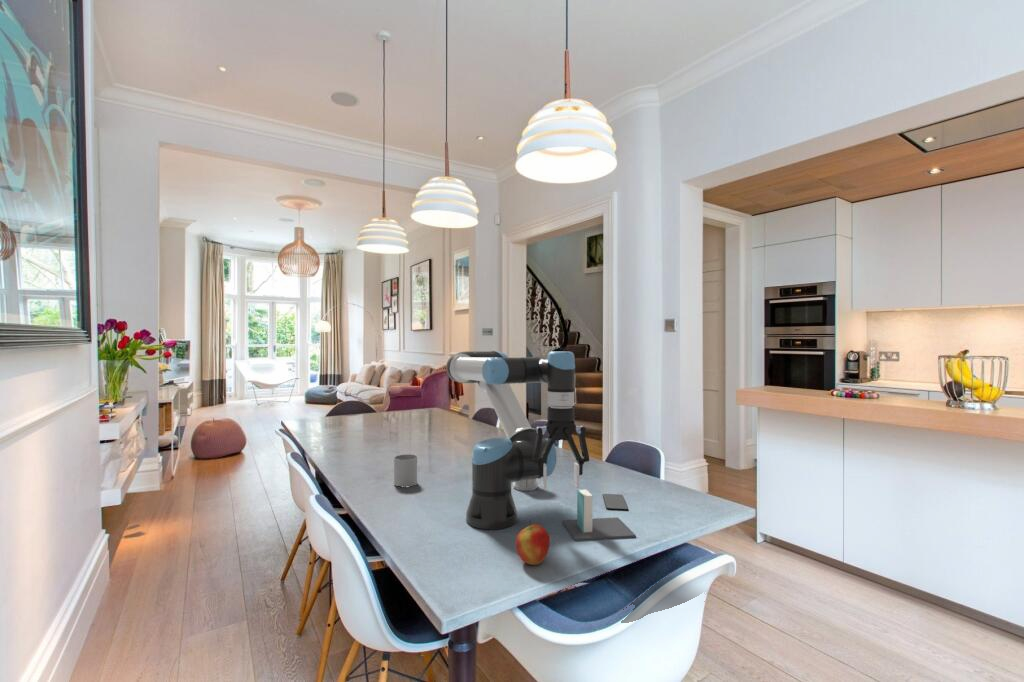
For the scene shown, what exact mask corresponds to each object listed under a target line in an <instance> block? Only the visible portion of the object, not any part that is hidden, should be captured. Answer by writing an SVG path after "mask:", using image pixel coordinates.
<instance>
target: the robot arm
mask: <svg viewBox="0 0 1024 682" xmlns="http://www.w3.org/2000/svg"><path fill="white" fill-rule="evenodd" d="M575 360H576V359H575V354H574V352H572V351H563V350H562V351H560V350H559V351H554V350H551V351H549V352H548V354H547V357H545V356H544V357H543V356H531V357H530V356H529V357H508V355H507V354H506V353H504V352H502V351H496V350H490V351H479V350H477V351H476V350H474V351H460V352H457V353H454V354H453V355H452V356H450V357H449V359H448V360H447V362H446V366H445V368H446V369H445V371H446V374H447V375H448V377H449V378H450V379H451V380H452V381H453V382H457V383H461V384H478V386H479V389H480V390H481V391H482V392H484V393H486V394H487V396H488V399H489V400H490V403H491V405H492V407H493V409H494V411H495V414H496V416H497V418H498V421H499V422H500V425H501V427H502V430H503V431H504V434H505V436H506V437H497V438H496V437H493V438H487V439H483V440H481V441H479V442H477V443H476V444H475V445H474V447H473V449H472V456H471V457H472V458H471V462H472V463H471V464H472V467H471V468H472V471H471V474H472V475H471V476H472V479H471V480H472V484H471V486H472V487H471V488H472V492H471V497H470V501H469V504H468V506H467V509H466V512H465V513H466V514H465V518H466V519H465V521H466V523H467V524H468V525H469V526H471V527H473V528H475V529H476V528H477V529H480V530H481V529H482V530H500V529H505V528H510V527H511V526H514V525H515V524H516V523H517V522H518V511H517V507H516V504H515V500H514V498H513V494H512V483H514V482H516V481H523V480H530V479H536V480H537V479H539V480H540V479H541V488H542V489H543V490H547V477H550V476H551V475H552V474H553V473H554V471H555V469H556V465H557V458H558V456H557V449H556V445H555V443H556V441H561V440H562V441H567V443H568V445H569V447H570V450H571V452H572V453H573V456H574V458H575V460H576V462H573V486H574V487H575V488H576V489H580V476H583V469H584V468H583V467H584V464H585V463H587V462H589V461H590V456H589V455H590V454H589V450H588V445H587V440H586V435H585V434H586V427H585V426H583V425H576V423H575V407H574V406H575V385H576V384H575V383H576V382H575V381H576V364H575V363H576V362H575ZM532 383H533V384H534V383H535V384H537V383H538V384H539V383H543V384H547V405H548V407H547V410H546V411H547V421H546V424H545V425H544V426H539V425H538V426H536V427H535V428H534V427H532V426H531V424H530V422H529V420H528V418H527V416H526V414H525V412H524V410H523V408H522V406H521V404H520V402H519V400H518V398H517V396H516V394H515V392H514V391H513V388H512V384H532ZM546 431H547V433H548V434H549V435H548V437H547V438H546V437H545V438H543V435H545V433H546ZM575 431H576V433H577V436H578V439H579V440H578V441H579V446H580V449H581V450H580V451H581V454H580V452H579V449H578V447H577V446H576V445H577V444H576V443H575V440H574V438H573V436H572V435H573V434H574V432H575Z"/></svg>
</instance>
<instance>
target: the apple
mask: <svg viewBox="0 0 1024 682" xmlns="http://www.w3.org/2000/svg"><path fill="white" fill-rule="evenodd" d="M528 522H529V525H528V526H527V527H524V528H523V529H521V530H520V531H519V532H518V534H517V535H516V540H515V545H516V546H515V547H516V551H517V554H518V556H519V557H520V559H521V560H522V561H523V562H524V563H525V564H527V565H530V566H536V565H539V564H541V563H542V562H543V561H544V560H545V559H546V557H547V555H548V553H549V550H550V544H551V538H550V535H549V533H548V531H547V530H546V529H545V528H544V527H543V526H542V525H540V524H536V523H535V524H532V523H531V519H530V520H528Z"/></svg>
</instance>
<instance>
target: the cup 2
mask: <svg viewBox="0 0 1024 682" xmlns="http://www.w3.org/2000/svg"><path fill="white" fill-rule="evenodd" d="M512 483H513V488H514V489H515V490H516V489H517V490H516V491H520V492H530V491H531V492H532V491H535V490H536V489H537V488H538V482H537V478H536V479H530V480H523V481H516V482H512Z"/></svg>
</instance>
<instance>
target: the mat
mask: <svg viewBox="0 0 1024 682" xmlns="http://www.w3.org/2000/svg"><path fill="white" fill-rule="evenodd" d="M562 523H563V525H564V527H565V528H566V529H567V531H568V533H569V534H570V536H571V537H572V539H573V540H574V541H575V542H577V541H579V542H580V541H595V540H596V541H597V540H610V539H611V540H612V539H630V538H631V539H632V538H633V539H634V538H637V537H636V536H637V535H636V533H634V532H633V531H632V530H631V529H630V528H629V527H628V526H627V525H626V524H625V523H624V522H623V520H621V519H620V518H619V516H618V517H602V518H601V517H600V518H592V532H582V531H581V529H580V528H579V527H578V525H577V519H576V518H575V519H563V520H562Z"/></svg>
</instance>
